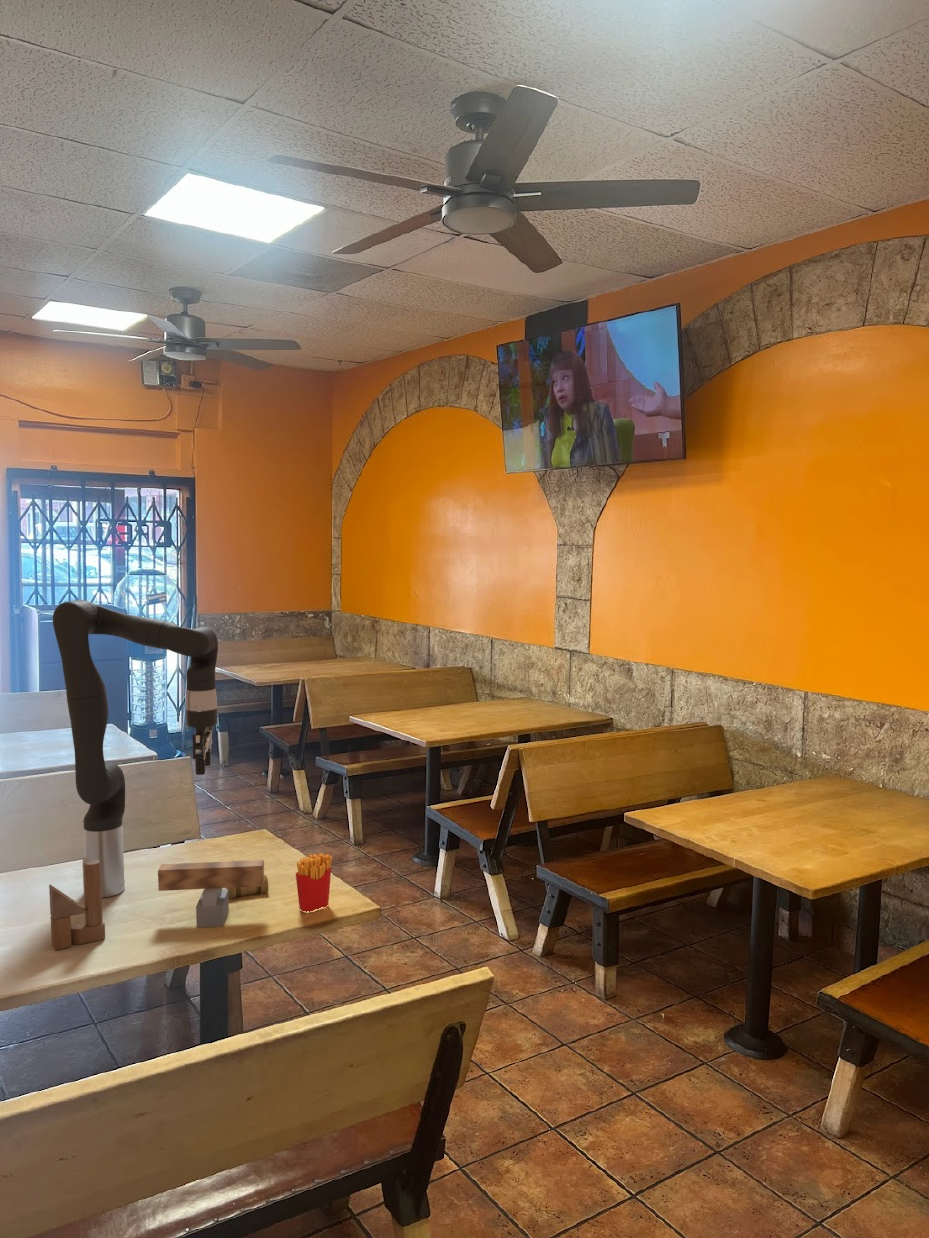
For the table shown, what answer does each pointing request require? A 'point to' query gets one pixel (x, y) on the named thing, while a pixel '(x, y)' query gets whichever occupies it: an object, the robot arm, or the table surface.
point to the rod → (211, 875)
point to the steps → (212, 907)
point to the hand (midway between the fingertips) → (203, 769)
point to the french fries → (313, 881)
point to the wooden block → (78, 911)
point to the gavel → (248, 890)
